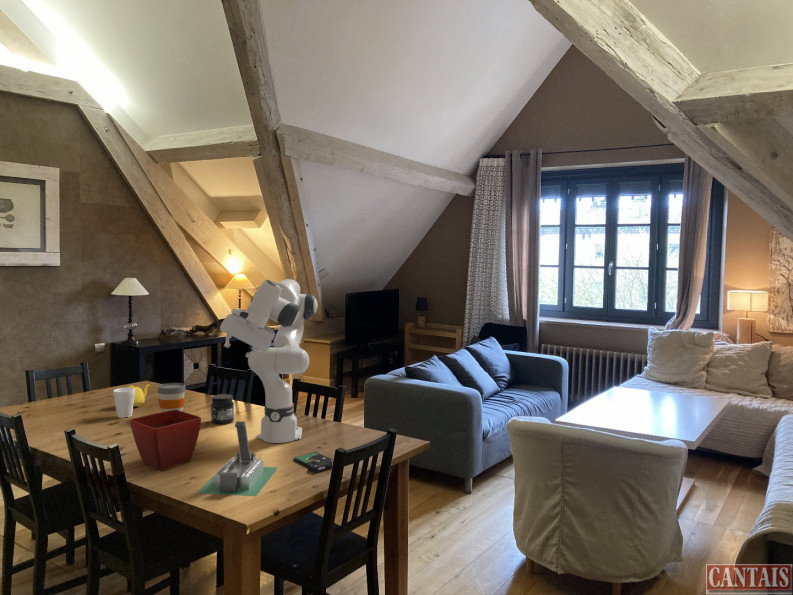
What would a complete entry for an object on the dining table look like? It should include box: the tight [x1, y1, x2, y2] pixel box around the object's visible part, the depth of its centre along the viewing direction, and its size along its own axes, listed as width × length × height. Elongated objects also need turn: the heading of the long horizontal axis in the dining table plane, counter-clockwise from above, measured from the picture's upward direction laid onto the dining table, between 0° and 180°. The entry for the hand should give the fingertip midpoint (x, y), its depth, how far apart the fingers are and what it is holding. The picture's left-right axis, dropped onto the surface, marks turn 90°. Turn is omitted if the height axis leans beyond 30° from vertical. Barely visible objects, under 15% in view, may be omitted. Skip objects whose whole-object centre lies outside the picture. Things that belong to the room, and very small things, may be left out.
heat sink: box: [213, 451, 264, 493], centre depth 207 cm, size 20×12×7 cm, turn 175°
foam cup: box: [112, 387, 135, 419], centre depth 290 cm, size 10×9×13 cm
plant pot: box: [129, 410, 202, 470], centre depth 228 cm, size 19×19×17 cm
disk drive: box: [293, 451, 334, 474], centre depth 227 cm, size 10×3×15 cm
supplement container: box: [210, 393, 235, 425], centre depth 283 cm, size 10×10×12 cm
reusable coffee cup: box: [157, 382, 186, 413], centre depth 291 cm, size 13×12×15 cm
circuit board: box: [195, 466, 279, 497], centre depth 209 cm, size 26×20×1 cm
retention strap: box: [234, 420, 251, 461], centre depth 212 cm, size 17×3×2 cm
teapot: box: [128, 383, 151, 408], centre depth 309 cm, size 18×11×11 cm, turn 135°
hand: (236, 352), depth 228 cm, fingers open, 8 cm apart
